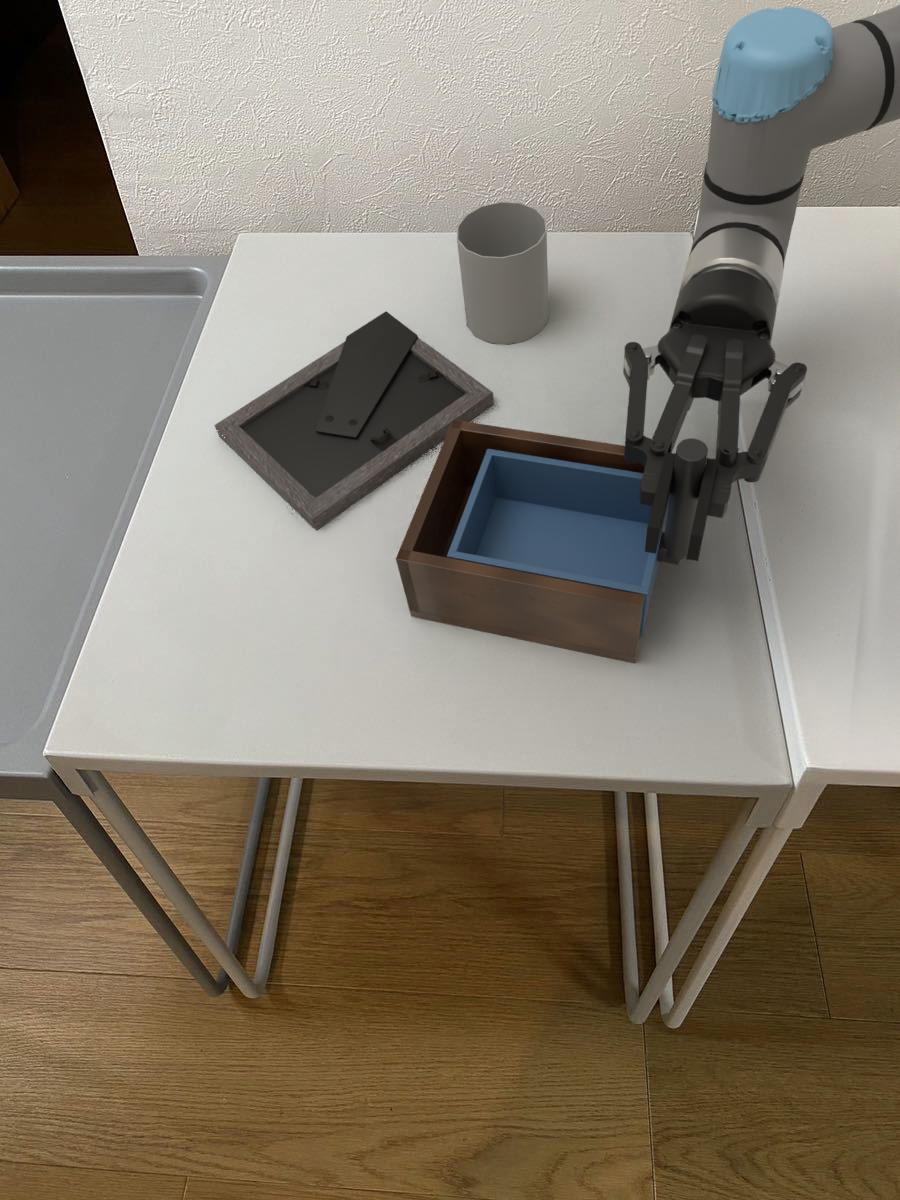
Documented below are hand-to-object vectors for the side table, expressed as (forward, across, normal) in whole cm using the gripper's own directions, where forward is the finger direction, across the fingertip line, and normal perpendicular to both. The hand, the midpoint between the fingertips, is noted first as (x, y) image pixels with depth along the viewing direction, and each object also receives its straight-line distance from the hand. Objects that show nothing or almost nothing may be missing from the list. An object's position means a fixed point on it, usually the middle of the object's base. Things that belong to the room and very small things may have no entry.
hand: (673, 543), depth 60 cm
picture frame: (-18, +32, -14) cm, 39 cm away
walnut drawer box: (-6, +10, -14) cm, 18 cm away
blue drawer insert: (-6, +8, -12) cm, 16 cm away
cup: (-35, +21, -14) cm, 43 cm away
